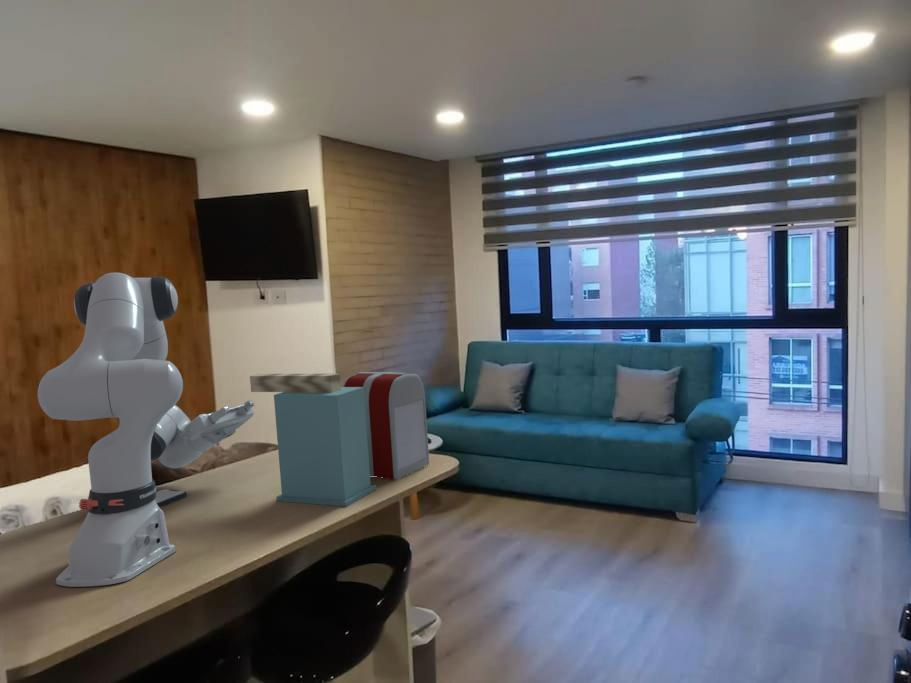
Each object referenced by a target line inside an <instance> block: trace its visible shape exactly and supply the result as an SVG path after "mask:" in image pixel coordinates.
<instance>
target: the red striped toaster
mask: <svg viewBox="0 0 911 683" xmlns="http://www.w3.org/2000/svg"><path fill="white" fill-rule="evenodd" d="M342 387H364V399H365V413H366V427H367V441H368V456H369V470H370V476H377V477H383V478H389V479H388V480H392V479H393V480H394V479H397V480H399V478H400V479H402V478H404V477H406V476H408V475H407V474H409V475H411V474H413V473H415V472H417V471H416V470H418V469H420V468H422V467H424V466H426V465H428V464H429V465H430V455H429V437H428V422H427V407H426V406H427V405H426V392H425V387H424V382H422V379H421V378H420V376H419V375H418V374H416V373H408V372H395V371H393V372H392V371H382V372H381V371H380V372H379V371H373V372H372V371H360V372H356V374H352V375H350V376H348V377H347V378H346V379H345V381H344V383H343V385H342ZM426 467H427V466H426ZM424 468H425V467H424ZM422 469H423V468H422ZM420 470H421V469H420ZM414 471H415V472H414ZM418 471H419V470H418ZM412 472H413V473H412ZM410 473H411V474H410ZM405 475H406V476H405ZM403 476H404V477H403ZM401 477H402V478H401ZM383 478H382V479H383Z"/></svg>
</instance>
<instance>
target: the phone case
mask: <svg viewBox="0 0 911 683" xmlns="http://www.w3.org/2000/svg"><path fill="white" fill-rule="evenodd" d="M187 496H188V494H187V491H186V490H178V489H170V488H169V489H168V488H165V489H161V490H158V491H156V498H155V501H156V503H157V505H158V506H159V508H161V507H163V505H164V506H166V505H165V504H167V505H169V504H171V502H172V503H174V502H177V501H179V500H181V499H184V498H187ZM168 503H169V504H168ZM160 506H161V507H160Z"/></svg>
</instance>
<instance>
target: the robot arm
mask: <svg viewBox="0 0 911 683" xmlns="http://www.w3.org/2000/svg"><path fill="white" fill-rule="evenodd" d="M178 298H179V296H178V293H177V289H176V288H175V287H174V285H173V282H172V281H171V280H170V279H169V278H167V277H165V276H156V275H153V276H152V277H132V276H130V275H129V274H126V273H122V272H109V273H106V274H103V275H101V276H100V277H99V278H97V280H96V281H95V282H94V281H92V282H88V283H86V284H82V285H81V286H79V288H77V290H75V292H74V298H73V299H74V300H73V308H74V312H75V315H76V316H77V318H78V321H79V322H80V323H81V324H83V325H84V326H85V329H84V334H83V338H82V341H81V343H80V345H79V347H78V348H77V349H76V351H74V353H72V354H71V356H69V358H67V359H66V360H65V361H63V362H62V363H60V364H59V365H58V366H56V367H54V368H52V369H50V370H48V371H47V372H46V373H44V375H43V377H42V378H41V379H40V381H39V385H38V388H37V402H38V404H39V406H40V408H41V410H42V411H43V412H44V413H45V414H46V415H47V416H48V417H49V418H51V419H52V420H63V421H64V420H65V421H78V422H79V421H88V420H98V419H106V418H107V419H109V418H118V419H119V425H118V427H117V429H115V430H113V431H112V432H110V433H109V434H107V435H105V436H103V437H101V438H100V439H99V440H97V441H96V442H95V443H94V444H92V446H91V448H90V449H89V451H88V454H87V455H88V456H87V460H88V468H89V469H88V471H89V478H90V481H89V482H90V487H91V488H90V490H89V494H88V497H87V498H81V499H80V500H79V503H78V507H79V509H80V511H85V510H86V511H87V515H86V517H85V519H84V520H83V523H82V524H81V526H80V528H79V530H78V531H77V533H76V535H75V536H74V539H73V540H72V542H71V544H70V546H69V552H68V562H69V563H68V565H67V567H66V568H65V569H63V571H62V572H61V573H60V574H58V576H57V577H56V578H55V584H56V585H58V586H63V587H73V588H74V587H75V588H78V587H79V588H80V587H83V588H84V587H85V588H86V587H99V586H108V585H114V584H115V585H116V584H119V583H124V582H127V581H129V580H131V579H133V578H135V577H136V576H138V575H139V574H141V573H143V572H144V571H146V570H148V569H149V568H151V567H153V566H155V565H156V564H158V563H160V562H161V561H162V560H164V559H166V558H167V557H169V556H171V555H172V554H174V553H175V552H177V550H176V546H175V545H174V544H172V543H170V540H169V539H170V538H169V535H168V529H167V523H166V519H165V518H166V517H165V512H164V511H163V510H162V509H161V507H159V506H158V505H157V503H156V501H155V498H156V492H157V486H156V481H155V480H154V479H153V477H152V476H153V473H152V461H156V460H158V461H159V462H160V463H161V464H162V465H163V466H164V467H165V468H170V469H179V468H183V467H184V466H187V465H189V464H190V463H191V462H194V461H195V460H197V459H198V458H199V457H201V456H202V454H203V453H205V452H208V451H209V450H210V449H212V448H213V447H215V446H216V445H218V444H219V443H221V442H222V441H223V440H225V439H227V438H229V437H231V436H232V435H234V434H235V433H237V432H236V431H237V430H238V429H239V428H241V427H242V426H243V425H244V424H246V423H247V422H248V421H249V420H250V419H251V418H252V417H253V416H254V414H255V412H254V410H253V407H255V403H254V401H253V400H252V399H250V400H247V401H245V402H244V403H243V404H240V405H236V406H232V407H228V406H224V407H223V406H222V407H221V408H220V409H219V410H216V411H213V412H210V413H201V414H199V415H198V416H196V417H195V418H193V419H192V420H191V418H190V417H189V416H188V414H186V412H185V411H184V410H183V409H182V408H181V407H180V406H179V405H177V404H178V402H179V400H180V399H181V396H182V393H183V390H184V380H183V377H182V374H181V372H180V371H179V369H178V367H177V366H176V365H175V364H174V363H173V362H172V361H170V360H167V357H168V354H169V353H168V351H169V349H168V348H169V346H168V345H169V344H168V342H169V341H168V337H167V336H168V335H167V332H166V328H165V324H164V321H165V320H168V319H170V318H172V317H173V316H174V315H175V314H176V313H177V308H178V305H179V304H178V303H179V299H178Z"/></svg>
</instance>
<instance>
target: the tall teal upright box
mask: <svg viewBox="0 0 911 683" xmlns="http://www.w3.org/2000/svg"><path fill="white" fill-rule="evenodd" d="M273 401H274V402H273V403H274V415H275V425H276V426H275V427H276V438H277V451H278V462H279V463H278V464H279V475H280V486H281V487H280V489H281V494H279V495H277V496H276V497H275V499H276V500H275V501H277V502H284V503H285V502H288V503H299V504H309V505H310V504H311V505H312V504H313V505H322V506H336V507H348V506H349V507H350V506H351V505H352V504H354V503H355V502H357V501H359V500H360V499H362V498H364V497H365V495H366V494H367V495H369V494H370V492H371V491H372V492H374V491H375V489H376V490H377V484H371V477H370V470H369V456H368V441H367V427H366V413H365V399H364V387H343V386H341V390H339V391H335V392H278V393H276V394H273ZM373 490H374V491H373ZM372 492H371V493H372ZM368 493H369V494H368ZM367 495H366V496H367ZM363 496H364V497H363Z"/></svg>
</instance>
